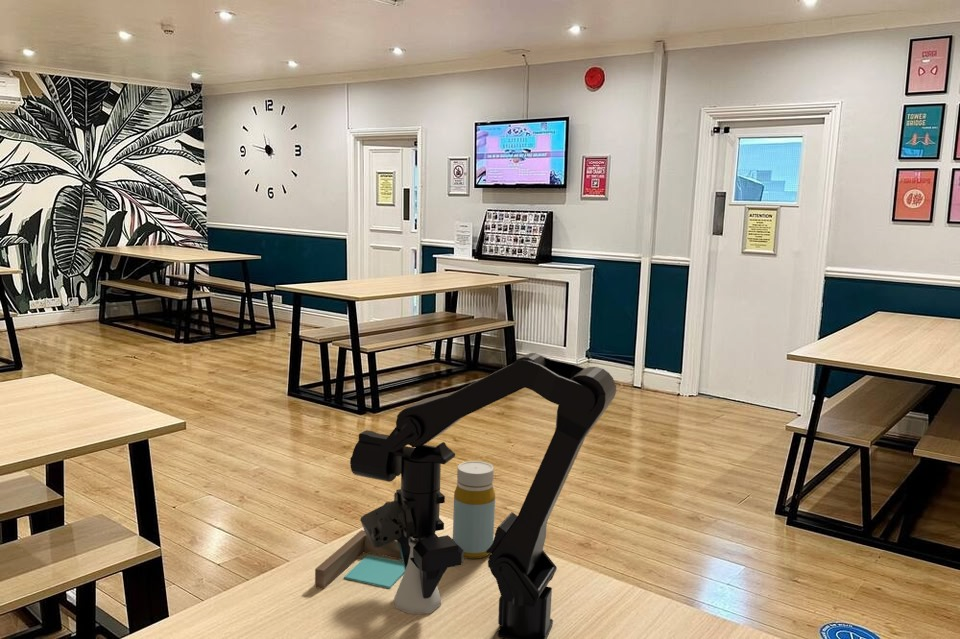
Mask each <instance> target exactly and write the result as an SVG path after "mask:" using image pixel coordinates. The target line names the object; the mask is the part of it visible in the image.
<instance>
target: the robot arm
mask: <svg viewBox="0 0 960 639" xmlns="http://www.w3.org/2000/svg"><path fill="white" fill-rule="evenodd" d="M525 388H526V389H528V390H531V391H533V392H535V393H536V394H537V395H539V396H541V397H542V398H543V399H545V400H546V401H548V402H550V403H552V404H555V405H557V406H558V407H557V410H556V422H555V430H554V433H553V435H552V436H551V437H552V438H551V440H550V442H549V444H548V447H547V449H546V451H545V454H544V456H543V459H542V461H541V462H540V465H539V467H538V469H537V472H536V474H535V476H534V479H533V480H532V483H531V485H530V487H529V490H528V492H527V494H526V497H525V499H524V502H523V503H522V505H521V508H520V510H519V511H518V512H519V513H518V515H517V514H515V513H514V512H512V511H511V512H510V513H509V514H508V516H506V518H504V520H502V522H501V523H500V524H499V525H498V526H497V528H496V530H495V532H494V540H493V544H492V545H491V546H490V547H489V548H488V550H487V551H486V552H487V553H489V555H488V559H487V567H488V569H489V571H490V573H491V574H492V576H493V577H494V578H495V580H496V584H497V588H498V590H499V591H498V592H499V594H500V597H499V600H498V620H497V625H499V626H500V627H499V629H498V631H497V636H498V637H499V638H503V639H547V638H548V636H549V633H550V631H551V629H552V626H553V624H554V620H553V619H552V618H551V611H552V610H551V609H552V594H553V593H552V592H553V588H552V587H550V586H548V584H549V583H550V582H551V581H552V580H553V578H554V576H555V574H556V571H557V569H558V568H557V565H555V563H554V562H553V561H552V559H551V558H550V557H549V556H548V555H547V553H546V552H545V551H544V546H545V542H546V538H547V524H548V520H549V518H550V516H551V514H552V511H553V509H554V507H555V505H556V503H557V501H558V498H559V496H560V494H561V491H562V490H563V488H564V485H565V483H566V481H567V479H568V477H569V474H570V471H571V470H572V467H573V465H574V463H575V462H576V459H577V457H578V455H579V452H580V450H581V448H582V446H583V444H584V442H585V439H586V437H587V436H588V434H589V433H590V432H591V430H592V429H593V428H594V426H595V425H596V424H597V422H598V421H599V420H600V418H601V417H602V415H603V414H604V413H605V412H606V410H607V409H608V407H609V406H610V404H611V403H612V402H613V400H614V399H615V396H616V393H617V384H616V383H615V379H614V378H613V376H612V375H611V374H610V372H608V370H605V369H604V368H601V367H599V366H587V367H586V368H585V367H583V366H580V365H578V364H575V363H572V362H568V361H567V362H566V361H563V360H562V361H561V360H558V359H553V358H550V357H547V356H544V355H542V354H539V353H537V352H530V353H527V354H525V355H523V356H521V357H519V358H518V359H516V360H514V362H513V363H511V364H509V365H507V366H505V367H502V368H501V369H498V370H497V371H494V372H493V373H491V374H488V375H487V376H485V377H482V378H481V379H478V380H476V381H474V382H472V383H470V384H468V385H466V386H464V387H462V388H461V389H458V390H456V391H452V392H448V393H441V394H438V395H434V396H431V397H427V398H423V399H422V400H419V401H417V402H416V403H413V404H411V405H410V406H407V407H405V408H404V409H402V410H401V411H399V413H397V415H396V421H395V427H394V428H393V430H392V431H391V433H390V434H383V433H379V432H375V431H373V430H368V429H366V430H364V431H363V432H360V433H359V434H358V441H357V442H356V444H355V446H354V448H353V451H352V453H351V454H352V455H351V457H350V459H349V461H350V470H351V472H352V474H353V475H354V476H358V477H362V478H367V479H373V480H379V481H383V482H389V483H390V482H393V481H394V480H395V479H396V477H399V476H400V489H396V491H395V492H394V495H393V496H394V498H393V500H391V501H385V503H384V504H383V505H381V506H379V507H377V508H375V509H373V510H371V511H369V512H368V513H365V514H364V515H362V516H361V517H360V522H361V526H362V528H363V531H365V533H366V536H367V538H368V539H369V541H370V542H371V543H372V545H373V547H376V548H378V547H381V546H383V545H385V544H386V545H387V544H389V543H391V542H393V541H395V540H397V541H398V545H399V549H400V553H401V557H402V559H401V560H402V561H401V562H403V565H404V569H405V570H406V567H407V564H408V560H409V555H410V546H409V538H410V537H411V538H412V539H413V540H419V541H418V543H417V544H416V545H415V546H414V547H413V557H412V558H410V560H411V561H412V562H413V563H414V565H415V566H416V567H417V568H418V569H419V572H420V580H421V588H422V595H423V598H424V599H426V598H430V597H431V596H432V594H433V592H434V590H435V588H436V587H438V585H439V583H440V581H441V579H442V578H443V576H444V574H445V573H446V571H447V570H448V569H449V568H454V567H459V566H462V564H464V557H463V552H464V550H463V549H462V548H461V547H460V546H459V545H458V544H457V543H456V542H455V541H454V540H453V537H450V536H449V535H442V536H439V535H437V534H436V532H437V531H443V530H445V522H443V520H442V519H441V518H440V505H441V504H445V502H446V496H445V494H443V493H442V492H441V468H442V467H441V466H442V465H446V464H447V463H448V462H450V461H452V460H453V459H454V458H455V457H456V453H455V452H454V451H453V450H452V449H451V448H449V447H448V446H447V444H446V442H445V441H443V442H441V443H439V444H438V445H436V446H435V445H429V444H427V443H429V442H430V441H432V440H434V439H435V438H437V437H438V436H440V435H441V434H443V433H445V432H446V431H447V430H448V429H450V428H451V427H452V426H454V425H455V424H457V422H459V421H460V420H462V419H463V418H464V417H466V416H468V415H471V414H472V413H474V412H476V411H478V410H480V409H483V408H486V406H488V405H489V406H490V405H491V404H493V403H496V402H497V401H499V400H502V399H504V398H506V397H508V396H510V395H511V394H514V393H516V392H518V391H520V390H522V389H525Z"/></svg>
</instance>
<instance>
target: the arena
mask: <svg viewBox="0 0 960 639" xmlns="http://www.w3.org/2000/svg"><path fill="white" fill-rule="evenodd" d="M364 553H369V554H372V555H379V556H383V557H387V558H388V557H389V558H393V559H398V560H402V557H401V553H400V549H399V545H398V541H397V540H395V541H393V542H391V543H389V544H387V545H386V544H385V545H383V546H381V547H378V548H376V547H373V545H372V543H371V542H370V541H369V539H368V538H367V536H366V533H365V531H364V529H363V530H360V531H358V532H357V533H356V534H355V535H354V536H353V537H351V538H350V539H349V540H348V541H347V542H345V543H344V544H343V545H342V546H340V548H338V549H337V550H336V551H335V552H333V554H331V555H330V556H328V557H327V558H326V559H325V560H324V561H323V562H322V563H321V564H319V565H318V566H317V567H315V569H314V570H315V571H314V577H315V578H314V588H318V589H322V590H324V589H326V588H327V587H328V586H329V585H331V583H332V582H333V581H335V580H336V579H337V578H338V577H340V575H341V574H343V572H344V571H346V569H348V568H349V566H351V565H352V564H354V562H355V561H356V560H358V559H359V558H360V557H361V556H362V555H363V554H364Z"/></svg>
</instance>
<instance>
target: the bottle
mask: <svg viewBox="0 0 960 639" xmlns="http://www.w3.org/2000/svg"><path fill="white" fill-rule="evenodd" d="M494 473H495V467H494V466H493V464H491V463H489V462H484V461H478V460H469V461H464V462H462V463H460V464H458V466H457V473H456V476H457V477H456V479H457V481H456V482H457V483H456V487H455V489H454V494H453V519H452V520H453V521H452V539H453V540H454V541H455V542H456V543H457V544H458V545H459V546H460V547H461V548H462V549H463V550H464V552H463V558H465V559H481V558H485V557H487V556H489V555H490V553H487V552H486V551H487V550H488V548H489V547H490V546H491V545H492V544H493V541H494V537H495V516H496V515H495V513H496V508H495V507H496V493H495V490H494V475H495V474H494Z"/></svg>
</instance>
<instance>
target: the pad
mask: <svg viewBox="0 0 960 639" xmlns="http://www.w3.org/2000/svg"><path fill="white" fill-rule="evenodd" d="M404 572H405V569H404V565H403V561H399V560H396V559H395V560H394V559H389V558H385V557H381V556H375V555H370V554H367V555H366V556H365V557H364V558H362V559H361V560H360V561H359V562H358V563H357V564H356V565H355V566H354V567H353V568H351V570H350V571H349V572H348V573H346V575H344V577H343V579H345V580H349V581H354V582H358V583H364V584H367V585H368V584H369V585H374V586H377V587H381V588H386V589H391V588H392V587H393V586H395V584H396V583H397V582H398V581H399V579H400V578H401V577H403V575H404Z"/></svg>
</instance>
